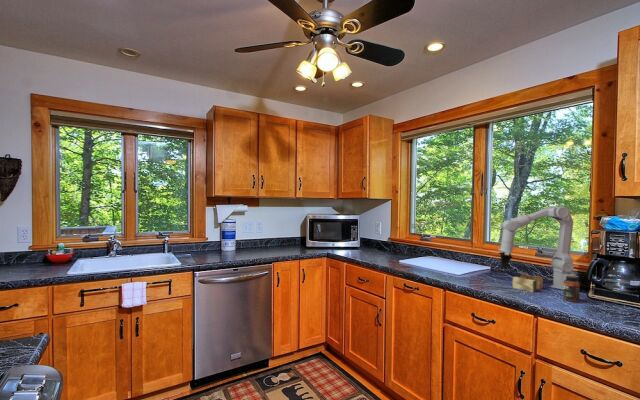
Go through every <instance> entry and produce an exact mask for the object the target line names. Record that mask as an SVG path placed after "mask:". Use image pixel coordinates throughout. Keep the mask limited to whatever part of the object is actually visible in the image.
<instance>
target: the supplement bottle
mask: <svg viewBox="0 0 640 400" xmlns="http://www.w3.org/2000/svg"><path fill="white" fill-rule="evenodd" d="M580 288H581V287H580V282H579V281H578V277H577V276H576V277H575V276H566V280H564V287H563V292H562V293H563V295H562V296H563V300H564V301H567V302H570V303H571V302H572V303H579V302H580V299H581V297H580V293H581V289H580Z"/></svg>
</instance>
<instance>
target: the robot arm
mask: <svg viewBox="0 0 640 400" xmlns="http://www.w3.org/2000/svg"><path fill="white" fill-rule="evenodd" d="M571 213H572V211H571V210H570V209H569V208H568V207H567V206H563V205H562V206H557V205H556V206H555V205H550V206H547V207H544V208H542V209H540V210H537V211H535V212H532V213H530V214H528V215H527V214H522V213H521V214H519V215H518V216H517V217H514V218H513V217H511V218H510V220H509V219H507V220H504V221H503V223H502V224H501V228H502V235H501V243H500V248H497V250H498V251H501V252H499V256H500V263H501V264H500V265H501V268H505V269H507V268H508V266H509V263H510V261H511V260H512V258H513V255H512V253H514V251H513V250H514V243H515V235H516V232H517V231H518V230H519V229H521V228H523V227H526V226H528V225H530V224H531V222H532V221H535V220H538V219H540V218H544V217H549V218H551V219H553V220H555V221H556V222H557V223H558V224H559V230H558V231H559V232H558V239H557V246H556V249H557V250H556V253H554V254H553V257H552V259H551V261H550V265H551V267H552V268H553V275H552V277H553V279H552V280H553V281H552V285H550V288H553V289H558V290H563V287H564V280H566V276H575V277H577V274H576V273H574V272H573V273H572V271H573V270H574V269H575V264H574V259H573V257H572V256H571V255H570V254H571V246H572V239H573V229H574V219H573V217H572V214H571Z"/></svg>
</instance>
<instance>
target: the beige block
mask: <svg viewBox="0 0 640 400" xmlns="http://www.w3.org/2000/svg"><path fill="white" fill-rule="evenodd" d="M512 288H513V289H518V290H522V291H527V292H529V293H530V292H531V293H536V292H537V290H538V289H537V281H535V280H530V279H525V278H521V276H519V277H518V276H513V277H512Z"/></svg>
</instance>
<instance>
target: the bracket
mask: <svg viewBox="0 0 640 400" xmlns="http://www.w3.org/2000/svg"><path fill="white" fill-rule="evenodd" d="M520 278H525V279H530V280H535V281H537V289H536V290H541V289H543V288H544V286H543V284H544V283H543V282H544V278H543V277H541V276H540V275H536V276H535V275H529V274H527V273H525V272H524V273H522V274H520Z"/></svg>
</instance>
